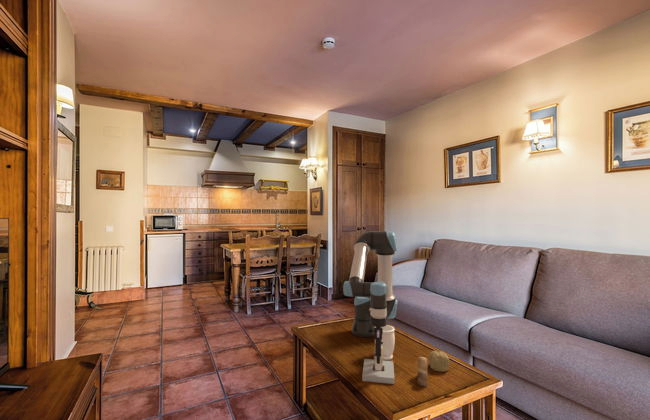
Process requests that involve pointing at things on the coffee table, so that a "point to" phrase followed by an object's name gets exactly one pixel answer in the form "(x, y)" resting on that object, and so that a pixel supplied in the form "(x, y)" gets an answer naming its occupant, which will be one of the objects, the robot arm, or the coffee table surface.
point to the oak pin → (422, 364)
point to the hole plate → (378, 372)
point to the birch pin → (381, 359)
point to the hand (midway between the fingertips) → (378, 363)
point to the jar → (387, 342)
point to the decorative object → (439, 361)
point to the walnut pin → (422, 378)
